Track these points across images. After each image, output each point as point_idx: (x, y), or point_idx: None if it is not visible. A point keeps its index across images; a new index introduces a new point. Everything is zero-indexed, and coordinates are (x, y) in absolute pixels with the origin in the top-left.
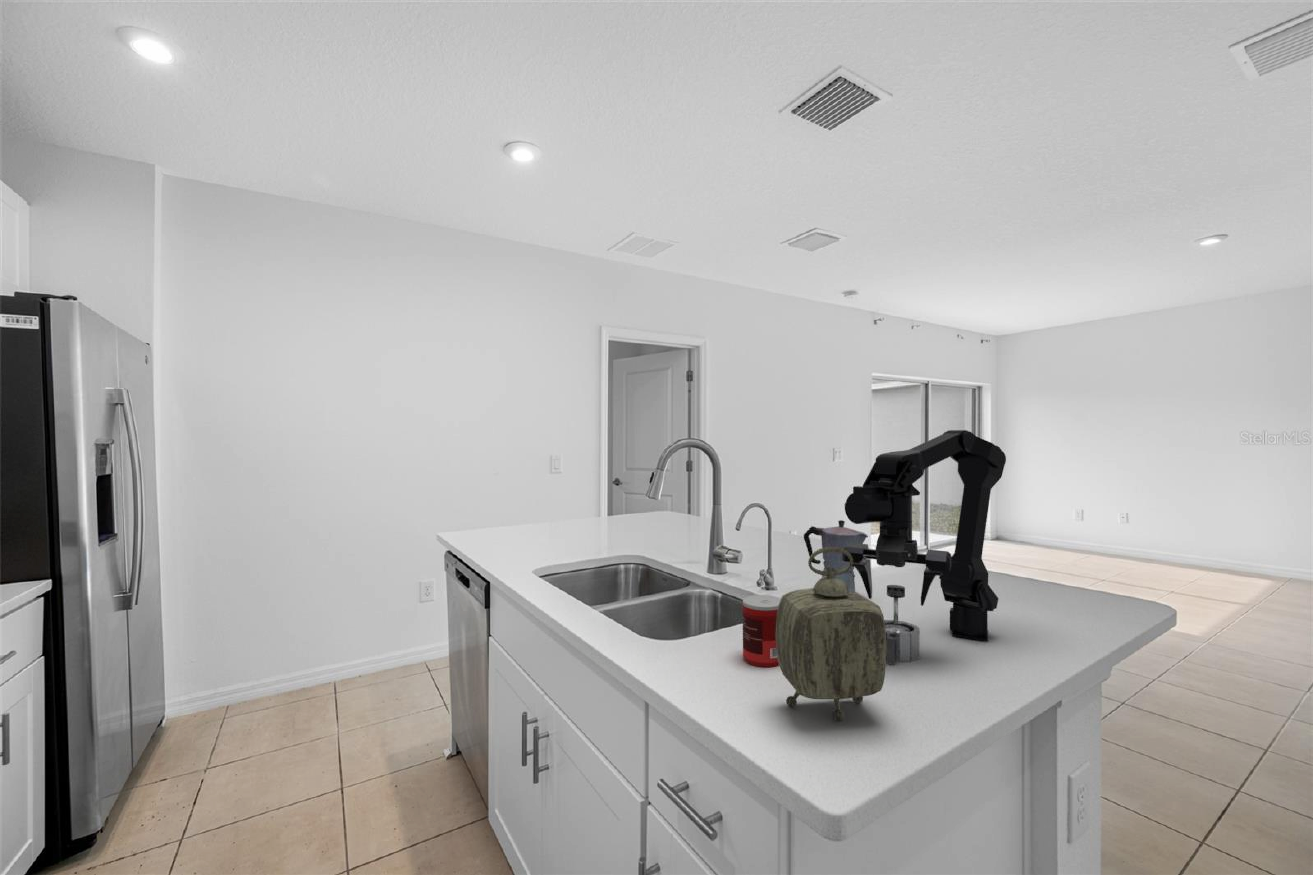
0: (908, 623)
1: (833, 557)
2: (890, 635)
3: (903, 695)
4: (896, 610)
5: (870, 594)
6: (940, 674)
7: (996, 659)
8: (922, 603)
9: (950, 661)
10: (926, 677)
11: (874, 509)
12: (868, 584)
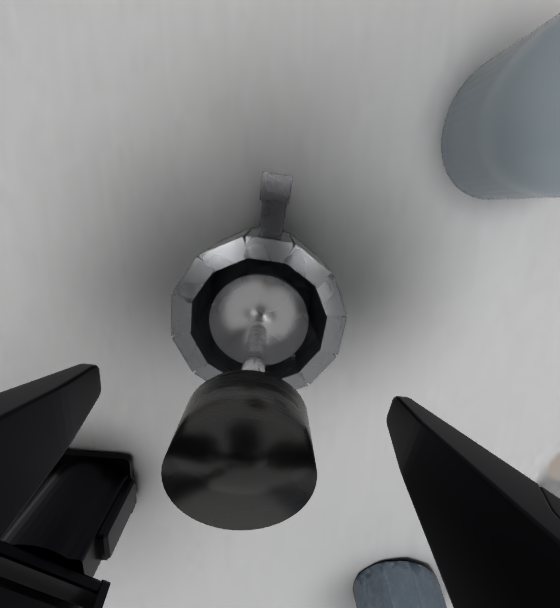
0: None
1: None
2: (278, 234)
3: None
4: (250, 355)
5: (412, 411)
6: (129, 162)
7: (8, 342)
8: (76, 368)
9: (115, 284)
10: (166, 115)
11: None
12: (480, 468)
